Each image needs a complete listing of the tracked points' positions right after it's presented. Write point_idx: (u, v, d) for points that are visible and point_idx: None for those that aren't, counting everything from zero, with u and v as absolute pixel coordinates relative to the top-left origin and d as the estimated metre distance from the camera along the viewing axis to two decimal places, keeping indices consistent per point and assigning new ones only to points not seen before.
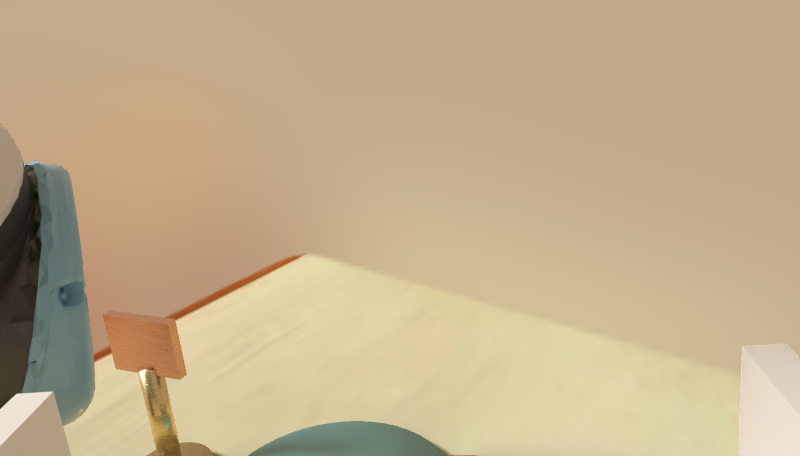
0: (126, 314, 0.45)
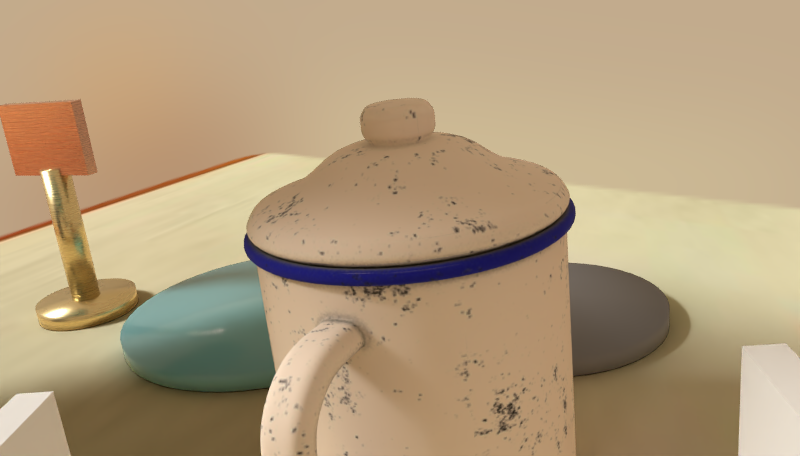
0: (25, 103, 0.37)
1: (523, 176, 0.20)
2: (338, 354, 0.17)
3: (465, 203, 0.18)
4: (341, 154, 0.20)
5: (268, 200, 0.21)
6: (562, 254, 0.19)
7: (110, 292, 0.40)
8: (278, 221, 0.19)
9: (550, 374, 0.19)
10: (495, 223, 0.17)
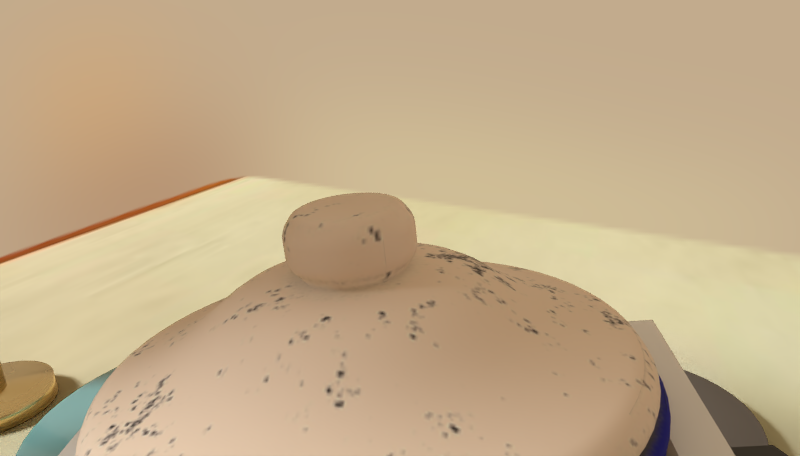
0: None
1: (576, 340, 0.11)
2: None
3: (477, 429, 0.09)
4: (248, 300, 0.11)
5: (126, 372, 0.12)
6: None
7: (19, 385, 0.31)
8: (120, 446, 0.10)
9: None
10: None
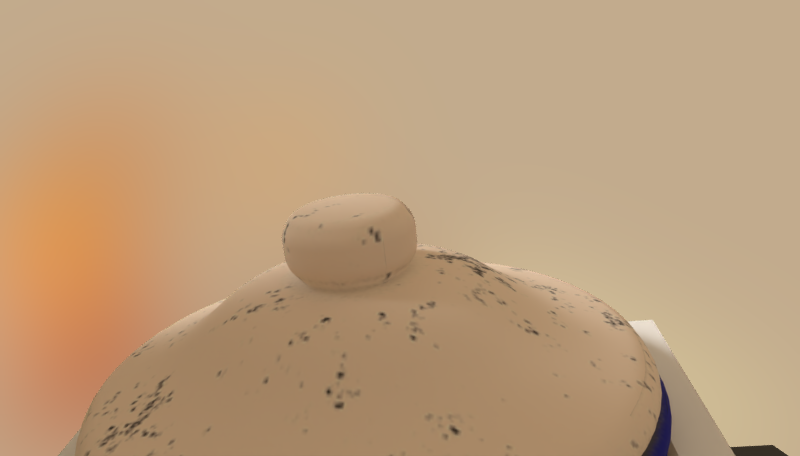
0: None
1: (577, 342, 0.11)
2: None
3: (478, 431, 0.09)
4: (248, 301, 0.11)
5: (125, 373, 0.12)
6: None
7: None
8: (119, 448, 0.10)
9: None
10: None
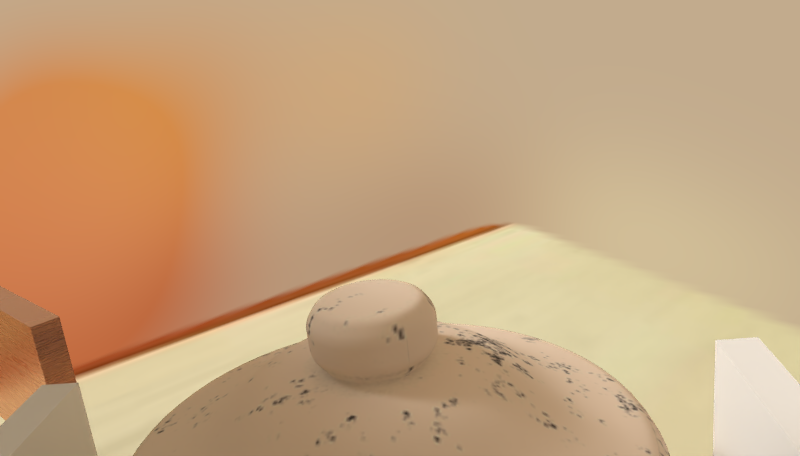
0: None
1: (593, 433, 0.11)
2: None
3: None
4: (273, 390, 0.11)
5: (151, 454, 0.12)
6: None
7: None
8: None
9: None
10: None
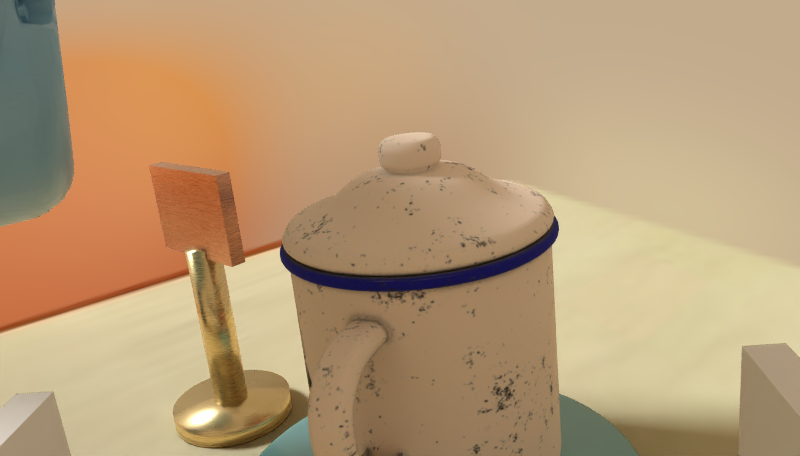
0: (176, 165, 0.31)
1: (515, 198, 0.24)
2: (368, 347, 0.20)
3: (469, 222, 0.22)
4: (362, 180, 0.24)
5: (299, 219, 0.25)
6: (548, 263, 0.23)
7: (258, 399, 0.33)
8: (313, 238, 0.23)
9: (539, 363, 0.23)
10: (494, 239, 0.21)
